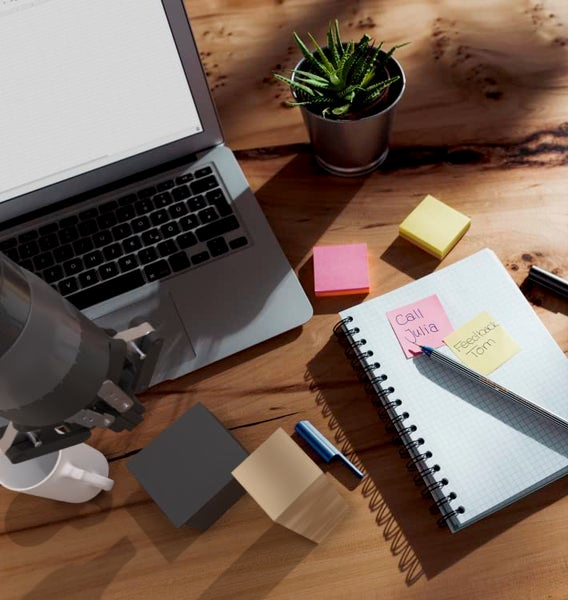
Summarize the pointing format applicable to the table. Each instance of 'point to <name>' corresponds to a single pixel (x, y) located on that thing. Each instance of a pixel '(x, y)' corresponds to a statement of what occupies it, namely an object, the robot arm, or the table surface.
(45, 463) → the mug
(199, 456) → the open box flap
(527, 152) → the table surface
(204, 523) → the grey lidded box
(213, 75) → the table surface
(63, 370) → the robot arm
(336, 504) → the stand
